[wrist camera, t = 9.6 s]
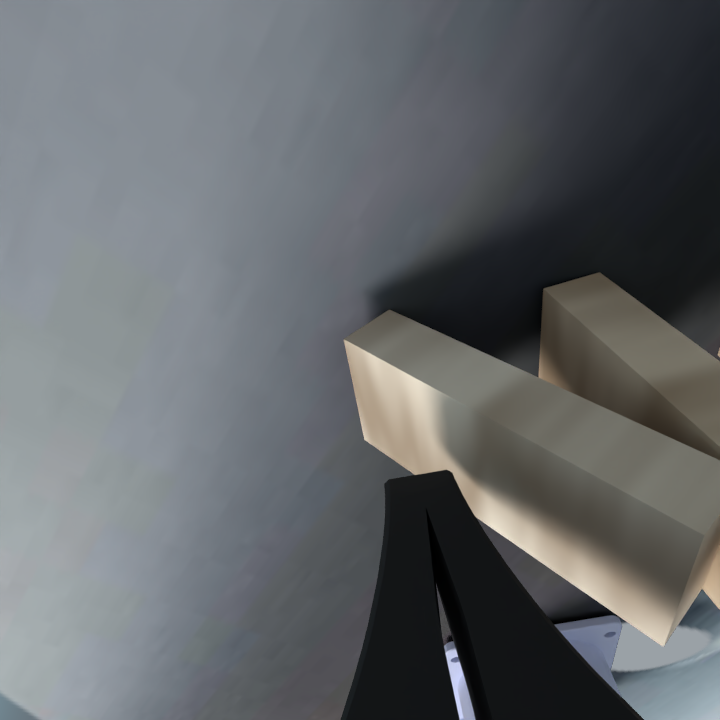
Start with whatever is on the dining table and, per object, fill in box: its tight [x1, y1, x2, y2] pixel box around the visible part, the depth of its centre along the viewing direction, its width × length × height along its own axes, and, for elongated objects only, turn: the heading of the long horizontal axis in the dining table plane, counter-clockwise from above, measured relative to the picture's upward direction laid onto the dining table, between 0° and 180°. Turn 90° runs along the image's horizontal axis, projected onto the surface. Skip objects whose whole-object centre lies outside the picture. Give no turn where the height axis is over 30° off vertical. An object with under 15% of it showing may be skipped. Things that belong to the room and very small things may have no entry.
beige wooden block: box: [539, 272, 720, 610], centre depth 12 cm, size 4×2×8 cm, turn 8°
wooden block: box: [344, 310, 720, 647], centre depth 13 cm, size 4×2×8 cm
